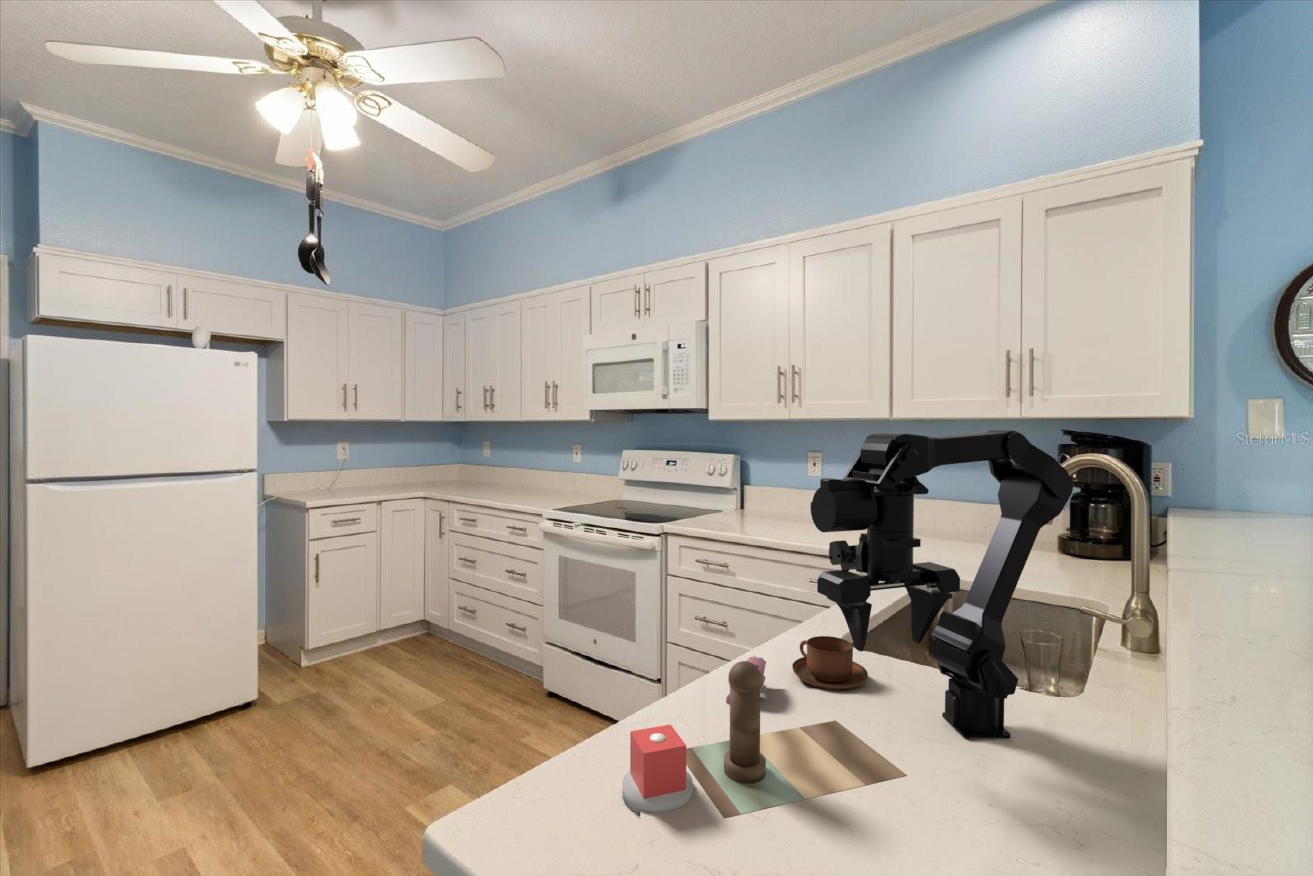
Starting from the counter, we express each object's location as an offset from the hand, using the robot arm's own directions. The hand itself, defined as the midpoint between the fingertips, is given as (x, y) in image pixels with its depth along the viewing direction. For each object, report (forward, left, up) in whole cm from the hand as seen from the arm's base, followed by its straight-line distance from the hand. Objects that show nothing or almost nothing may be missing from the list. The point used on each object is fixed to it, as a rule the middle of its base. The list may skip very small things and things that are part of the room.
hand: (888, 646), depth 80 cm
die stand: (+31, +10, -13) cm, 35 cm away
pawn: (+20, +7, -12) cm, 25 cm away
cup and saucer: (+1, -20, -13) cm, 24 cm away
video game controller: (+16, -14, -13) cm, 25 cm away
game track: (+14, +5, -13) cm, 20 cm away
